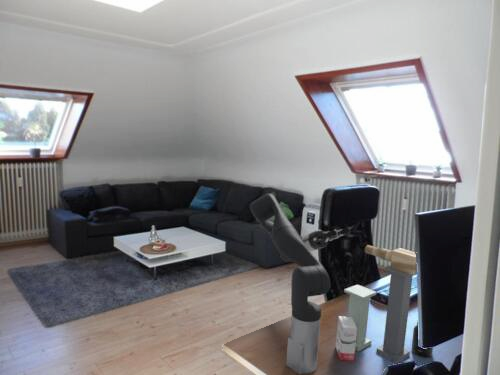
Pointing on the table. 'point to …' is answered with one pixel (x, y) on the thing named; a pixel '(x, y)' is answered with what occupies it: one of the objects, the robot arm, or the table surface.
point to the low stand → (360, 312)
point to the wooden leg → (396, 258)
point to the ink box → (346, 338)
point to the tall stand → (396, 316)
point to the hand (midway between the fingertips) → (342, 230)
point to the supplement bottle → (416, 348)
